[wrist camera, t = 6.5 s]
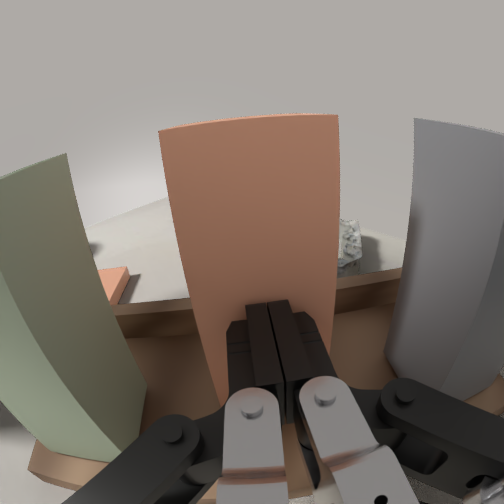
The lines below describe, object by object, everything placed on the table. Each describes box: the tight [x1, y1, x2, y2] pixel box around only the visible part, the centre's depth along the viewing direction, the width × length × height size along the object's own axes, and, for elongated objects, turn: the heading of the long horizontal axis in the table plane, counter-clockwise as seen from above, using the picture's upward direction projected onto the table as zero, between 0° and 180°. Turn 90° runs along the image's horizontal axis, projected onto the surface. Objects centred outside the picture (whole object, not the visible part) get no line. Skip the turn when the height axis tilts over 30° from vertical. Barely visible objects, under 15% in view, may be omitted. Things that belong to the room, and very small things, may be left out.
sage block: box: [0, 153, 147, 462], centre depth 9 cm, size 5×5×12 cm
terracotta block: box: [158, 113, 340, 407], centre depth 12 cm, size 5×5×12 cm
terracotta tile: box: [98, 267, 130, 305], centre depth 24 cm, size 8×8×1 cm
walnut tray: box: [27, 268, 504, 504], centre depth 14 cm, size 26×12×4 cm, turn 96°
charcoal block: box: [383, 118, 504, 401], centre depth 10 cm, size 5×5×12 cm
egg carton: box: [337, 219, 362, 278], centre depth 27 cm, size 11×8×4 cm
